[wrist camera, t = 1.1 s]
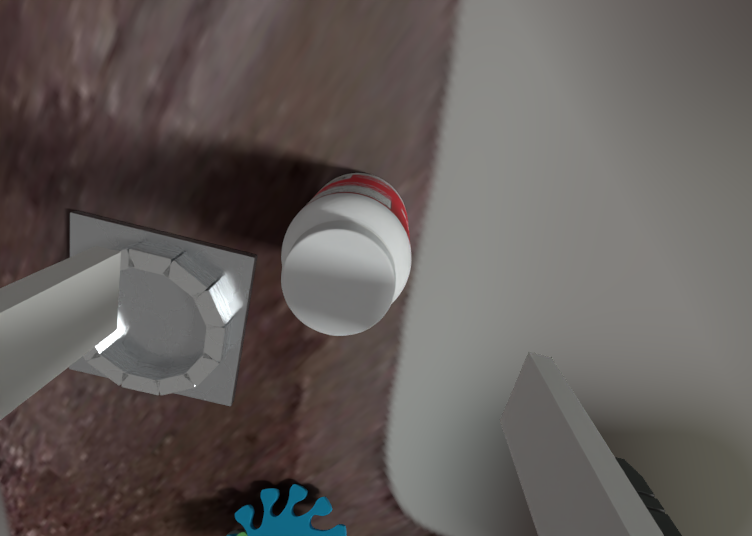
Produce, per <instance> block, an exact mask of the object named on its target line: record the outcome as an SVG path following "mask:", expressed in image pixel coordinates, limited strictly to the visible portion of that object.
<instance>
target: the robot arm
mask: <svg viewBox="0 0 752 536" xmlns="http://www.w3.org/2000/svg"><path fill="white" fill-rule="evenodd" d="M120 261H121V252H120V251H115V250H111V249H107V248H103V247H99V246H95V247H92V248H90V249H88V250H86V251H83V252H81V253H79V254H77V255H74V256H72V257H70V258H68V259H65V260H63V261H61V262H59V263H56V264H54V265H52V266H50V267H47V268H45V269H43V270H41V271H38V272H36V273H34V274H32V275H29V276H27V277H25V278H23V279H20V280H18V281H16V282H14V283H11V284H9V285H7V286H5V287H2V288H0V420H1V419H2V418H3V417H5V416H6V415H7V414H9V413H10V412H11V411H12V410H14V409H15V408H16V407H18V406H19V405H20V404H21V403H23V402H24V401H25V400H27V399H28V398H29V397H30V396H32V395H33V394H34V393H36V392H37V391H38V390H39V389H41V388H42V387H43V386H45V385H46V384H47V383H48V382H50V381H51V380H52V379H54V378H55V377H56V376H57V375H59V374H60V373H61V372H63V371H64V370H65V369H67V368H68V367H69V366H70V365H72V364H73V363H74V362H76V361H77V360H78V359H79V358H81V357H82V356H83V355H85V354H86V353H87V352H88V351H90V350H91V349H92V348H94V347H95V346H96V345H97V344H99V343H100V342H101V341H103V340H104V339H105V338H106V337H108V336H109V335H110V334H112V333H113V332H114V331H115V330H117V317H118V299H119V280H120ZM500 422H501V425H502V428H503V431H504V434H505V437H506V440H507V443H508V446H509V449H510V452H511V455H512V458H513V461H514V464H515V467H516V470H517V473H518V476H519V479H520V482H521V485H522V488H523V491H524V494H525V497H526V500H527V503H528V506H529V509H530V512H531V515H532V518H533V521H534V524H535V527H536V530H537V533H538V536H682V535H681V534H680V532H679V531H678V529H677V528H676V526H675V525H674V523H673V522H672V520H671V519H670V517H669V516H668V515H667V514H665V510H664V508H663V507H662V505H661V504H660V502H659V501H658V499H655V498H654V494H653V492H652V491H651V489H650V488H649V486H648V485H647V483H646V482H645V480H644V479H643V477H642V476H641V475H640V474H639V473H638V472H637V471H636V470H635V469H634V468H633V467H632V466H630V465H629V464H628V463H627V462H626V461H625V460H624V459H621V458H617V457H614V456H613V454H612V452H611V451H610V449H609V448H608V446H607V445H606V443H605V441H604V440H603V438H602V436H601V435H600V433H599V432H598V430H597V429H596V427H595V425H594V424H593V422H592V421H591V419H590V417H589V416H588V414H587V413H586V411H585V410H584V408H583V406H582V405H581V403H580V402H579V400H578V399H577V397H576V395H575V394H574V392H573V391H572V389H571V388H570V386H569V384H568V383H567V381H566V379H565V378H564V376H563V375H562V373H561V372H560V370H559V368H558V367H557V365H556V364H555V362H554V361H553V359H552V357H548V356H544V355H540V354H536V353H531V352H528V355H527V357H526V359H525V362H524V364H523V367H522V369H521V371H520V374H519V376H518V379H517V381H516V383H515V386H514V388H513V391H512V393H511V396H510V398H509V400H508V403H507V405H506V407H505V410H504V412H503V414H502V417H501V419H500Z"/></svg>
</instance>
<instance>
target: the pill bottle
mask: <svg viewBox="0 0 752 536" xmlns="http://www.w3.org/2000/svg"><path fill="white" fill-rule="evenodd" d="M281 260H282V274H281V285H282V291H283V294H284V297H285V300H286V302H287V304H288V306H289V308H290V309H291V311H292V312H293V313H294V314H295V316H296V317H297V318H298V319H299V320H300V321H301V322H303V323H304V324H305V325H307V326H308V327H310V328H312V329H314V330H316V331H318V332H321V333H325V334H328V335H336V336H345V335H353V334H356V333H360V332H363V331H365V330H367V329H369V328H370V327H372V326H373V325H375V324H376V323H377V322H379V321H380V320H381V319H382V318H383V317H384V315H385V314H386V313H387V311H388V310H389V308H390V306H391V304H392V303H393V302H394V301H395V300H396V298H397V297H398V296H399V294H400V293H401V291H402V290H403V288H404V286H405V284H406V282H407V279H408V276H409V273H410V267H411V246H410V238H409V228H408V218H407V213H406V209H405V206H404V203H403V201H402V199H401V197H400V196H399V194H398V193H397V191H396V190H395V189H394V188H393V187H392V186H391V185H390V184H388V183H387V182H386V181H384V180H382V179H381V178H378V177H376V176H373V175H370V174H365V173H351V174H346V175H342V176H339V177H337V178H335V179H333V180H332V181H330V182H329V183H327V184H326V185H325V186H324V187H323V188H321V189H320V191H319V192H318V193H317V194H316V195H315V196H314V197H313V198H312V199H311V200H310V201H309V202H308V203H307V204H306V206H304V208H303V209H301V210H300V212H299V213H298V214H297V215H296V216H295V218H294V219H293V221H292V222H291V224H290V225H289V227H288V229H287V232H286V234H285V237H284V240H283V244H282V254H281Z"/></svg>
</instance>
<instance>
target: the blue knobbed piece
mask: <svg viewBox="0 0 752 536" xmlns="http://www.w3.org/2000/svg"><path fill="white" fill-rule="evenodd" d="M279 494H280V493H279V489H276V488H270V489H264V490H262V491H261V500H262V502H263V506H264V516H263V521H262V525H261V526H260V528H258V529H257V528H255V527H254V526H253V517H254V513H255V511H254V507H253V506H252V505H246V506H244V507H242V508H240V509H239V510H238V511H237V512H236V513H235V519H236V520H237V522H239V523H240V524H241V525H242V526H243V527H244V528H245V530H246V531H244V530H239V529H238V530H234V531H231V532H230V533H228V534H227V536H346V526H345V525H343V524H339V525H337V526H335V527H334V528H332V529H329V530H319V529H315V528H313V527H312V525H311V518H312V517H313V516H314V515H320V516H325V515H328V514H329V513H330V512H331V511H332V506H331V504H330V502H329V500H328V499H327V498H326V497H321V498H319V499H318V500H317V501H316V503H315V505H314V506H313V508H312V509H311V510H310V511H309V512H307V513H306V514H304V515H302V516H296V515H295V514H294V512H293V507H294V505H295V504H296V503H297V502H299V501H302V500H304V499H305V498H306V496H307V494H308V490H307V489H306V488H304V487H303V486H301V485H298V484H294V485H292V487H291V488H290V491H289V500H288V503H287V505H286V507H285V509H284V510H283V511H282V513H281V514H280V515H279V516H275V515H274V514H273V512H272V507H273V505H274V503H275V502H276V501H277V500H278V498H279Z"/></svg>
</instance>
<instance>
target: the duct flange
mask: <svg viewBox="0 0 752 536" xmlns="http://www.w3.org/2000/svg"><path fill="white" fill-rule="evenodd" d="M95 246H99V247H103V248H107V249H111V250H115V251H120V252H121V261H120V280H119V299H118V317H117V330H115V331H114V332H113V333H112V334H110V335H109V336H108V337H106V338H105V339H104V340H103V341H101V342H100V343H99V344H97V345H96V346H95V347H94V348H92V349H91V350H90V351H88V352H87V353H86V354H85V355H83V356H82V357H81V358H79V359H78V360H77V361H76V362H74V363H73V364H72V365H70V366H69V369H72V370H77V371H81V372H85V373H90V374H94V375H98V376H102V377H107V378H109V379H111V380H112V381H113V382H115V383H116V384H118V385H120V384H121V383H122V387H125V388H129V389H133V390H138V391H142V392H146V393H150V394H155V395H159V394H161V395H165V394H170V393H176V394H180V395H184V396H189V397H193V398H197V399H202V400H206V401H210V402H214V403H219V404H223V405H227V406H231V405H232V403H233V402H234V397H235V390H236V384H237V378H238V372H239V366H240V359H241V353H242V347H243V341H244V335H245V329H246V322H247V316H248V310H249V304H250V298H251V292H252V285H253V279H254V273H255V267H256V261H257V255H255V254H251V253H247V252H243V251H239V250H235V249H231V248H227V247H223V246H219V245H215V244H211V243H207V242H203V241H199V240H195V239H191V238H186V237H182V236H178V235H174V234H170V233H166V232H162V231H158V230H154V229H150V228H146V227H142V226H138V225H134V224H130V223H126V222H122V221H118V220H114V219H110V218H106V217H101V216H97V215H93V214H89V213H85V212H81V211H77V210H76V211H73V212H70V257H72V256H74V255H77V254H79V253H81V252H83V251H86V250H88V249H90V248H92V247H95Z"/></svg>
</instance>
